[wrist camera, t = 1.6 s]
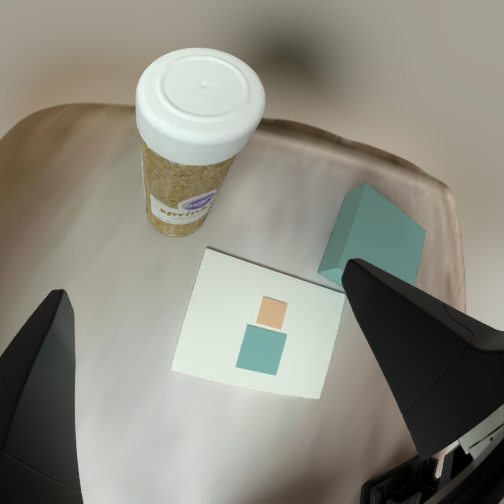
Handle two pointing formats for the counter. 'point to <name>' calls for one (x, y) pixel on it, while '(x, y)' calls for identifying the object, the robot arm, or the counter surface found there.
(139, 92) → the sprinkles bottle
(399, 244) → the brick
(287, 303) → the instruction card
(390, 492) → the end cap
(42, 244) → the counter surface
